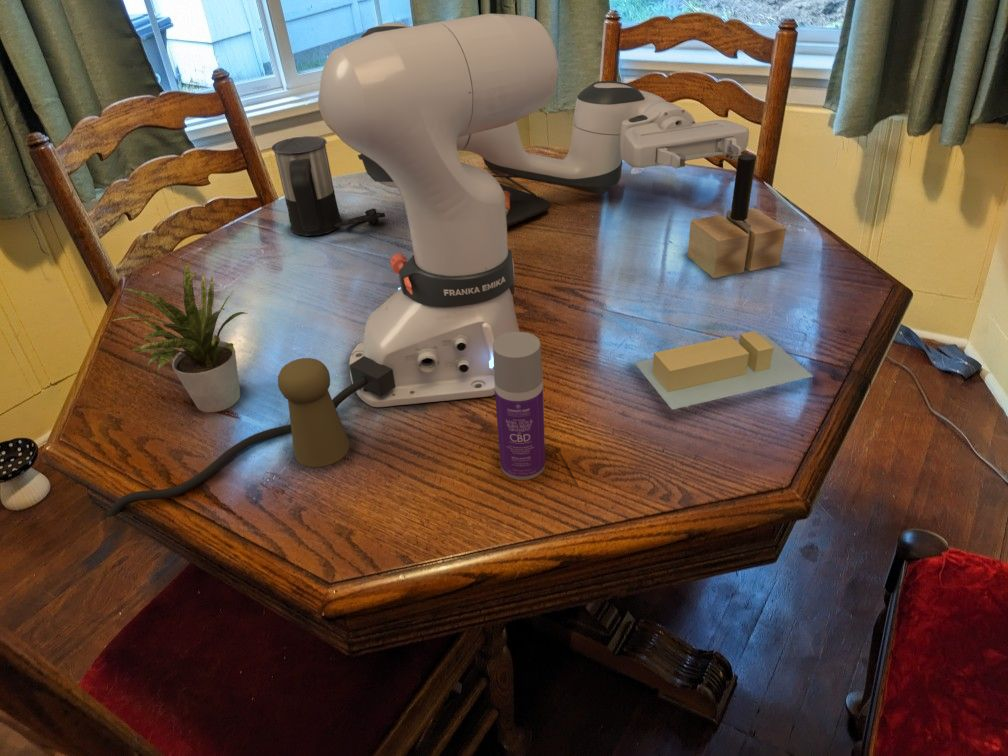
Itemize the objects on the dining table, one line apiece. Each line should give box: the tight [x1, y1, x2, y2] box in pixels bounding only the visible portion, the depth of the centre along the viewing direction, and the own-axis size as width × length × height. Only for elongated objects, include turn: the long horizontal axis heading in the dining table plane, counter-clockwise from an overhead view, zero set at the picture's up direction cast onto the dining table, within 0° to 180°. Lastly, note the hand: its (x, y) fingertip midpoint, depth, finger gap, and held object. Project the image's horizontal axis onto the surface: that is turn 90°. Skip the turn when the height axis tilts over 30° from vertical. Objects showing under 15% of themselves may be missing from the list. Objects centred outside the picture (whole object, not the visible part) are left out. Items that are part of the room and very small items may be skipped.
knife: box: [725, 153, 757, 248], centre depth 106 cm, size 2×6×16 cm, turn 17°
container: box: [493, 331, 546, 481], centre depth 72 cm, size 5×5×15 cm
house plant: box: [111, 261, 251, 413], centre depth 85 cm, size 14×14×16 cm
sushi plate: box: [487, 167, 552, 227], centre depth 138 cm, size 29×30×4 cm
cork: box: [277, 357, 351, 468], centre depth 77 cm, size 6×6×11 cm
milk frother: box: [270, 135, 386, 237], centre depth 126 cm, size 14×16×15 cm
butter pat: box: [738, 330, 774, 372], centre depth 86 cm, size 2×4×3 cm, turn 16°
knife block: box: [687, 208, 787, 279], centre depth 109 cm, size 11×8×6 cm
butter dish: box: [633, 333, 814, 410], centre depth 87 cm, size 18×10×1 cm, turn 106°
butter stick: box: [653, 335, 749, 392], centre depth 85 cm, size 10×4×3 cm, turn 106°
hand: (709, 158), depth 111 cm, fingers open, 8 cm apart
